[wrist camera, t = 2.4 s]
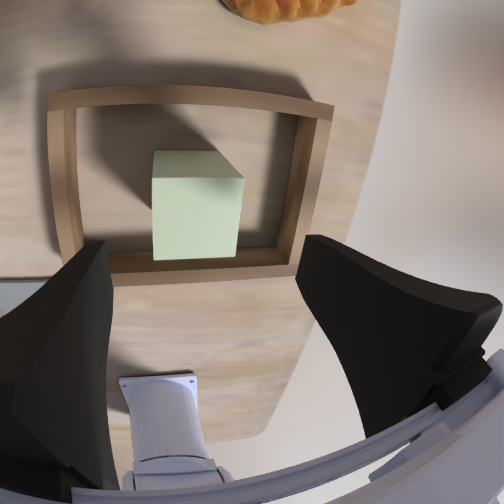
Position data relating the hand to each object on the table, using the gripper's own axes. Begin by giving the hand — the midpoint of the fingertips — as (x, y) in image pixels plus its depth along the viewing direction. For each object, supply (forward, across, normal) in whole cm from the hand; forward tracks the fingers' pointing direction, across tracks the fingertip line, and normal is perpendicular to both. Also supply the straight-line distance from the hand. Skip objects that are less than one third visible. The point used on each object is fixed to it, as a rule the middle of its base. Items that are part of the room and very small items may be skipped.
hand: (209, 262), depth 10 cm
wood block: (+10, 0, 0) cm, 10 cm away
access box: (+9, 0, 0) cm, 9 cm away
